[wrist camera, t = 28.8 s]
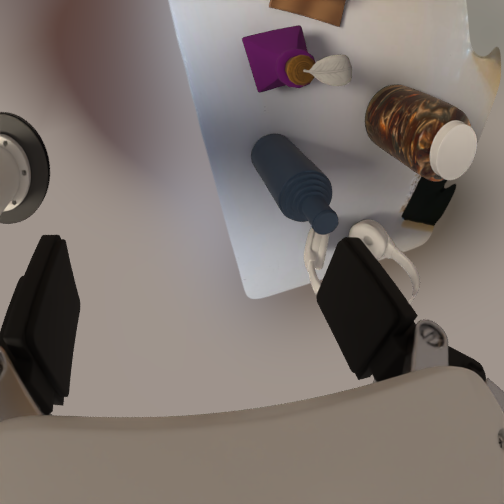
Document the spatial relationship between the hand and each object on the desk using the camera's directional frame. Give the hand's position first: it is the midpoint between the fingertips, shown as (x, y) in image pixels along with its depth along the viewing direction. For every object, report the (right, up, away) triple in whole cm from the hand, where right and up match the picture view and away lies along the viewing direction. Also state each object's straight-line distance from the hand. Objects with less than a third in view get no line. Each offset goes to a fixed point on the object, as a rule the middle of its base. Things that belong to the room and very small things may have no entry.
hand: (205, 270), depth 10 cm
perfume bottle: (+4, +26, +24) cm, 36 cm away
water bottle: (+4, +15, +33) cm, 37 cm away
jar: (+24, +23, +33) cm, 47 cm away
